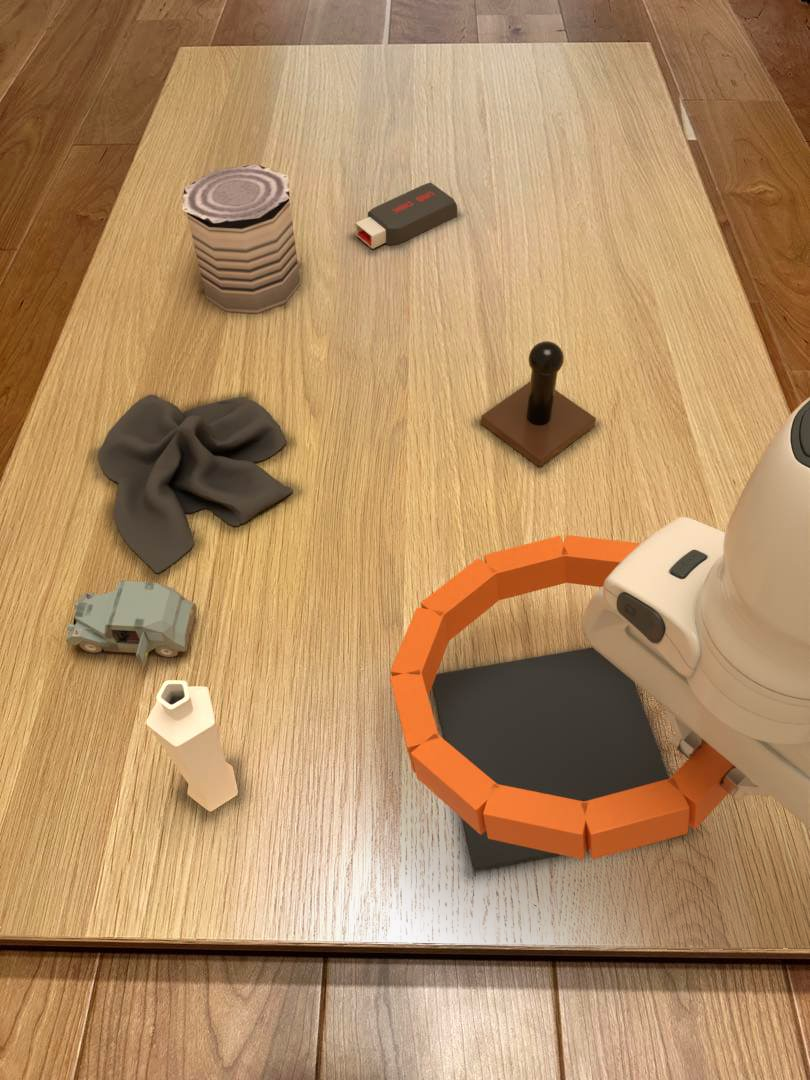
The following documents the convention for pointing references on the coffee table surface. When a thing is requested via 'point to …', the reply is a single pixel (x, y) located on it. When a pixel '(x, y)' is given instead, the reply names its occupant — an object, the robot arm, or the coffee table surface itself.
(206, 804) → the cream vase
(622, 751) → the mat
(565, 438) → the post
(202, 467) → the cloth
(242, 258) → the can
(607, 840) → the hoop
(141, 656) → the toy car
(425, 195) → the usb drive
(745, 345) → the coffee table surface
